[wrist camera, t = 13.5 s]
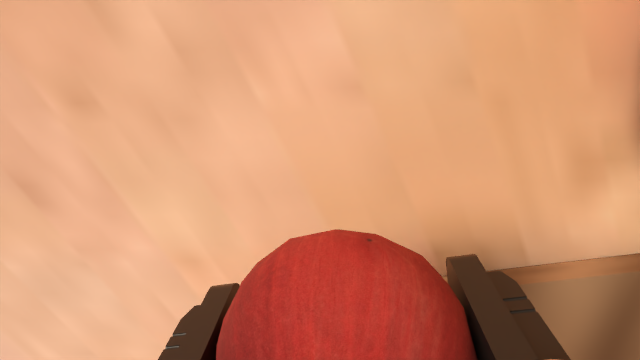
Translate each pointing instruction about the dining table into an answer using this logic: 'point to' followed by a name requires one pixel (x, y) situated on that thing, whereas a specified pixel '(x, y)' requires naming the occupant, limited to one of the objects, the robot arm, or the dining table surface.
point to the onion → (344, 305)
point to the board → (587, 304)
